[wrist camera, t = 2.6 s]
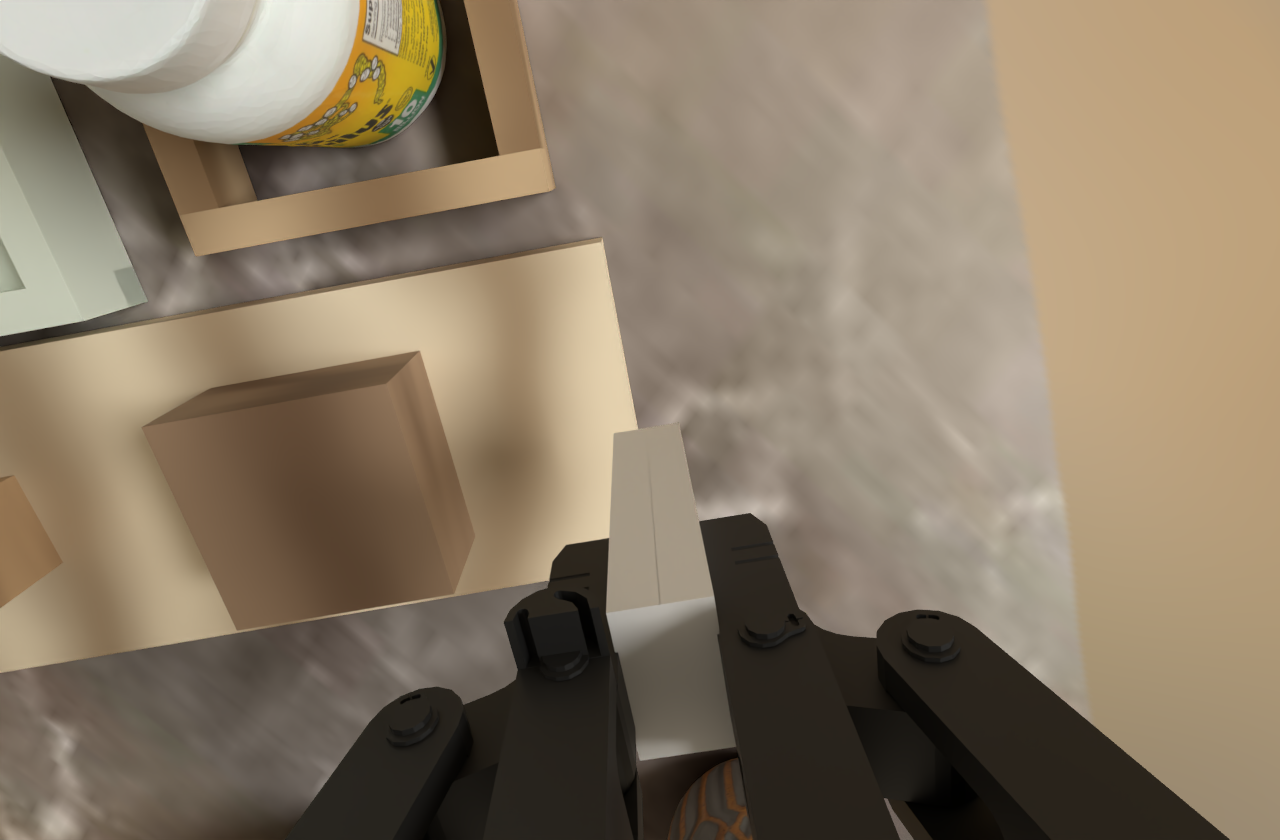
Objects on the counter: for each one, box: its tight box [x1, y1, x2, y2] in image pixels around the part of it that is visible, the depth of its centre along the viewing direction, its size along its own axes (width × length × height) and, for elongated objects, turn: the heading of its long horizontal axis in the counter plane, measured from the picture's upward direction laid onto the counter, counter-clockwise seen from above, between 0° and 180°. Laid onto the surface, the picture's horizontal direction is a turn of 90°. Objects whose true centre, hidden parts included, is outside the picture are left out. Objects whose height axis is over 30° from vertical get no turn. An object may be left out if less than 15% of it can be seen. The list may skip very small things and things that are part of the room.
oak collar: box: [142, 0, 556, 256], centre depth 16 cm, size 9×9×2 cm
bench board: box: [0, 237, 638, 673], centre depth 19 cm, size 23×10×5 cm, turn 100°
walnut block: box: [141, 351, 475, 631], centre depth 19 cm, size 6×6×3 cm
